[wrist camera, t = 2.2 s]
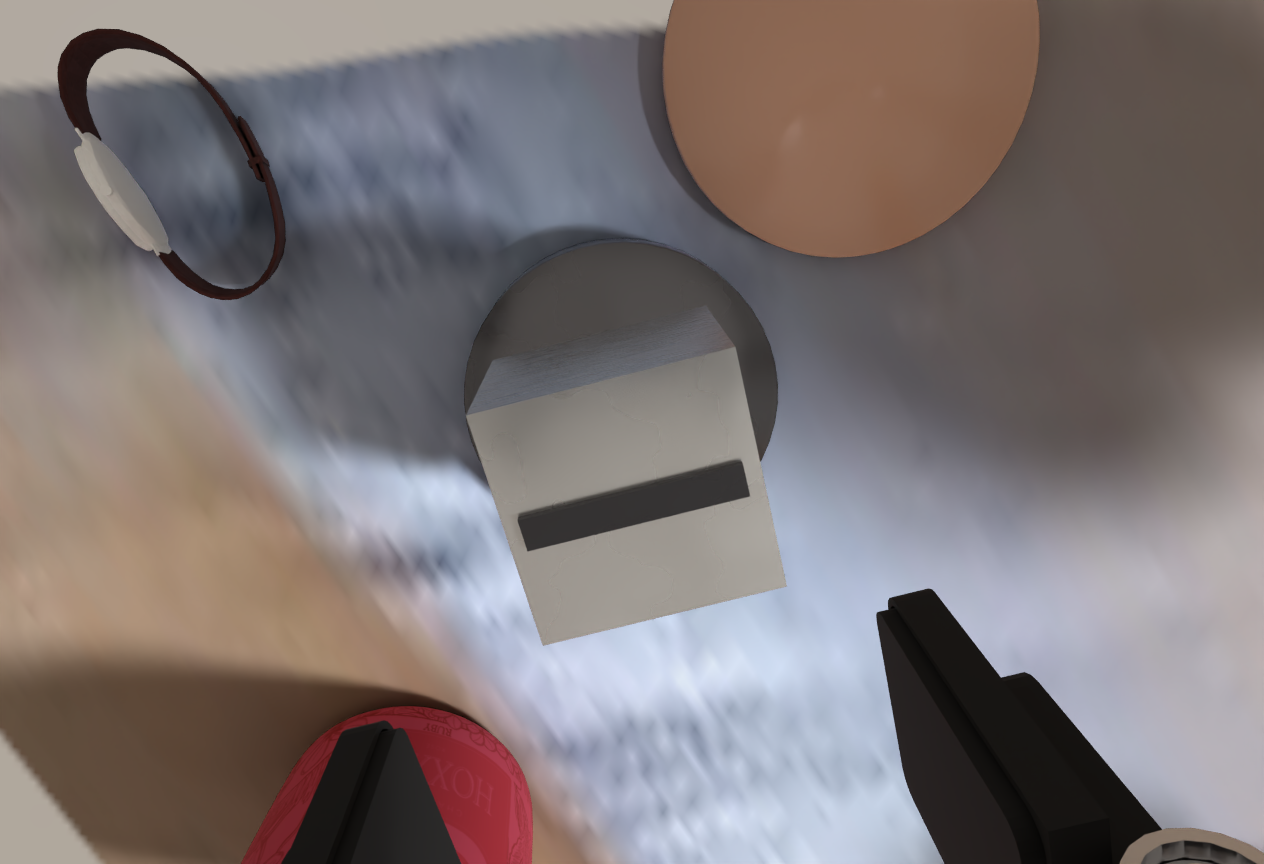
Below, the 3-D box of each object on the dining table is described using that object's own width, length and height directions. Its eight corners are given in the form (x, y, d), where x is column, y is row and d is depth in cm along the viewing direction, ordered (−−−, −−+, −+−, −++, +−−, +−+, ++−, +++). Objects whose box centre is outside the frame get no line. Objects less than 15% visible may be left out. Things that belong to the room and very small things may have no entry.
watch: (57, 80, 24) (-32, 68, 21) (194, 5, 24) (125, -20, 20) (210, 315, 26) (153, 340, 23) (337, 252, 26) (298, 267, 23)
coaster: (1007, -195, 23) (1021, -206, 22) (1040, 205, 26) (1054, 207, 26) (622, -87, 23) (623, -95, 22) (706, 291, 27) (709, 296, 26)
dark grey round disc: (735, 202, 26) (799, 226, 18) (792, 486, 29) (868, 614, 21) (430, 283, 26) (357, 341, 18) (520, 554, 29) (492, 705, 21)
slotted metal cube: (705, 305, 22) (736, 348, 17) (749, 501, 24) (788, 590, 19) (492, 360, 23) (464, 418, 18) (552, 549, 24) (542, 650, 20)
